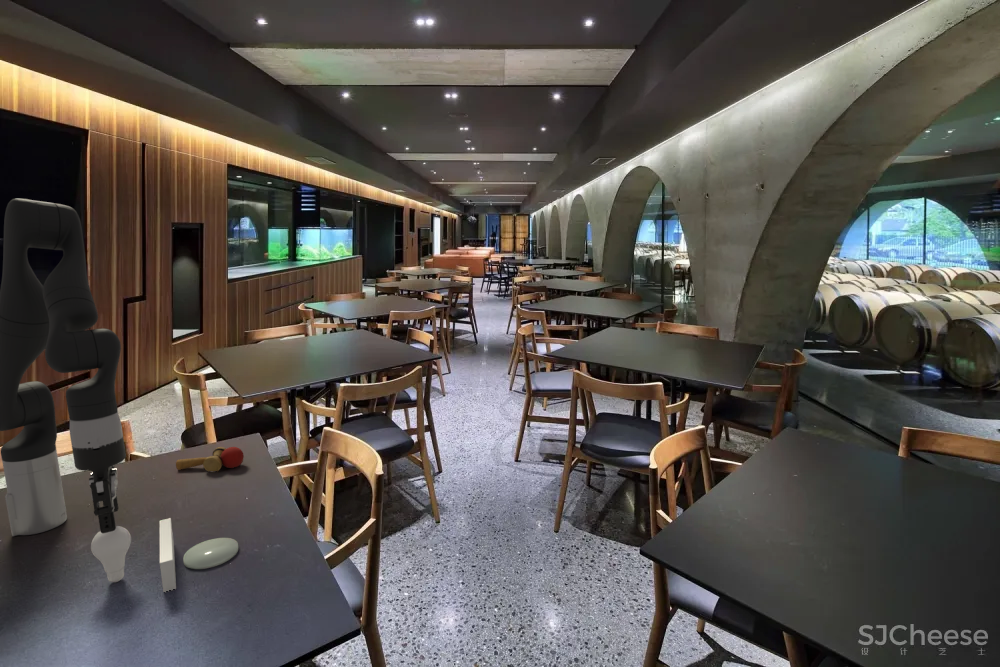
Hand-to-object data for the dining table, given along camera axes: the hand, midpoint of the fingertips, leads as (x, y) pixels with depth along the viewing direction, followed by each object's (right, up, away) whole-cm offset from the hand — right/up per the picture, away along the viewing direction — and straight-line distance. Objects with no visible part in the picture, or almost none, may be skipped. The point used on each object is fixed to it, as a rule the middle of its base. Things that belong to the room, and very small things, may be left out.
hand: (110, 521), depth 99 cm
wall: (+7, -11, +6) cm, 15 cm away
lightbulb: (0, -12, +2) cm, 13 cm away
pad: (+13, -11, +10) cm, 20 cm away
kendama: (-10, -4, +53) cm, 55 cm away
